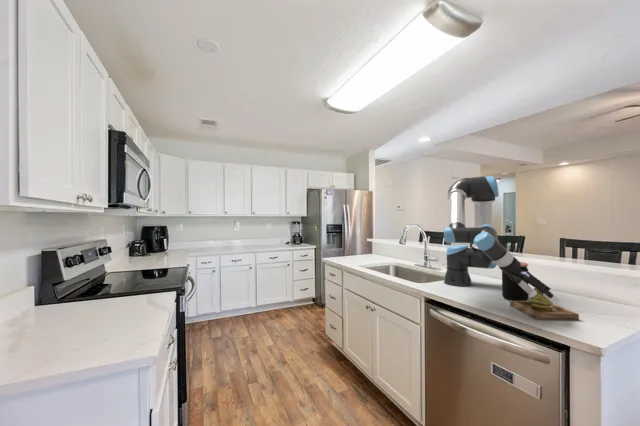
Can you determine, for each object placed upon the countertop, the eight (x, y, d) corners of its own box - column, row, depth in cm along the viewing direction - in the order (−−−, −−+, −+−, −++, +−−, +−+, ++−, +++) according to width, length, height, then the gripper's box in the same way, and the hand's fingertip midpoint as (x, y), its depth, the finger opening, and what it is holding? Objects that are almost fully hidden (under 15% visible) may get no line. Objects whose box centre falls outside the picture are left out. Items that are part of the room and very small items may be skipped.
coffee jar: (519, 295, 137) (519, 261, 138) (534, 302, 127) (533, 265, 127) (497, 295, 138) (497, 261, 139) (510, 302, 128) (509, 264, 128)
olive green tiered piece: (530, 305, 119) (530, 283, 119) (552, 309, 114) (552, 286, 114) (529, 310, 114) (529, 287, 114) (553, 314, 109) (552, 290, 109)
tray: (510, 306, 122) (510, 300, 122) (547, 306, 121) (547, 301, 121) (536, 319, 106) (536, 313, 106) (578, 320, 105) (578, 314, 105)
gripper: (483, 262, 127) (516, 294, 126) (519, 274, 102) (561, 313, 101) (495, 251, 127) (528, 283, 126) (533, 260, 102) (575, 300, 101)
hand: (542, 297), depth 114 cm, fingers open, 13 cm apart
